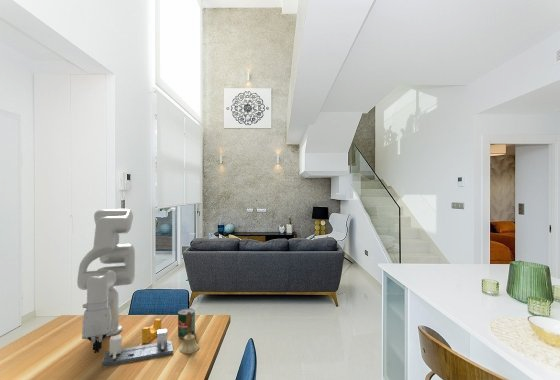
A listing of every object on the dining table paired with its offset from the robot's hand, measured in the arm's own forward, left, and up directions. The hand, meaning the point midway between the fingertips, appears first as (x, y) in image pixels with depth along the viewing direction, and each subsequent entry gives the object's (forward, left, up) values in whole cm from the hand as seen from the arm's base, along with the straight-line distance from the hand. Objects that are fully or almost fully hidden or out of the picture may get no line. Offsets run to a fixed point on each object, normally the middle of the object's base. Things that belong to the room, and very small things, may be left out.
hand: (97, 351), depth 128 cm
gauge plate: (+2, +16, -4) cm, 16 cm away
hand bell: (+5, +36, -4) cm, 36 cm away
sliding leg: (+2, +7, -2) cm, 7 cm away
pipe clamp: (-15, +20, -4) cm, 25 cm away
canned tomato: (-11, +36, -4) cm, 38 cm away
